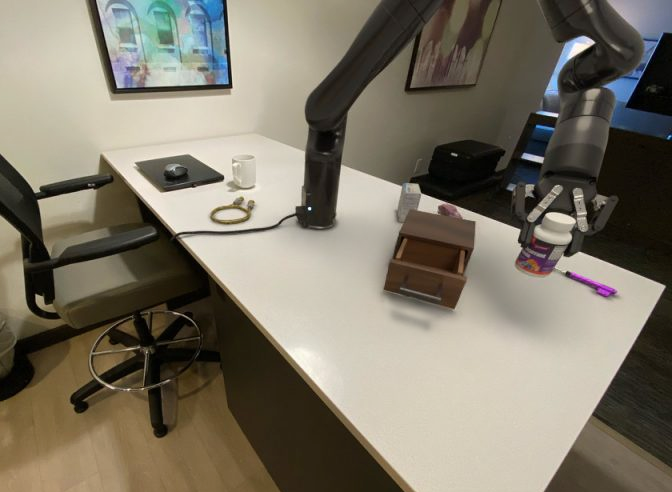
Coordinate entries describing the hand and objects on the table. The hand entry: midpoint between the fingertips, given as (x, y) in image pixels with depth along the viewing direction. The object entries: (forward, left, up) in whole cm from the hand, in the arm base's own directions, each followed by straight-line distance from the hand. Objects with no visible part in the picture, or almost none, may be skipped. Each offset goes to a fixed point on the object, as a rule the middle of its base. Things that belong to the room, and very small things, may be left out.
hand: (546, 250), depth 52 cm
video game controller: (+10, +37, -15) cm, 41 cm away
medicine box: (0, +44, -15) cm, 46 cm away
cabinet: (-5, +21, -14) cm, 26 cm away
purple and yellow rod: (+22, +10, -15) cm, 28 cm away
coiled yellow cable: (-49, +53, -15) cm, 74 cm away
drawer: (-13, +9, -14) cm, 21 cm away
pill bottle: (+1, +2, -5) cm, 5 cm away
